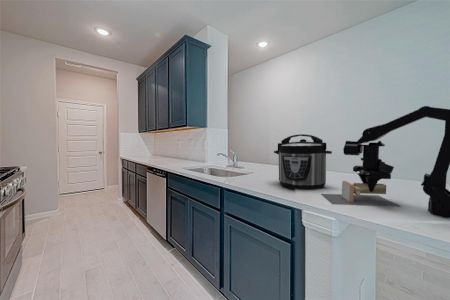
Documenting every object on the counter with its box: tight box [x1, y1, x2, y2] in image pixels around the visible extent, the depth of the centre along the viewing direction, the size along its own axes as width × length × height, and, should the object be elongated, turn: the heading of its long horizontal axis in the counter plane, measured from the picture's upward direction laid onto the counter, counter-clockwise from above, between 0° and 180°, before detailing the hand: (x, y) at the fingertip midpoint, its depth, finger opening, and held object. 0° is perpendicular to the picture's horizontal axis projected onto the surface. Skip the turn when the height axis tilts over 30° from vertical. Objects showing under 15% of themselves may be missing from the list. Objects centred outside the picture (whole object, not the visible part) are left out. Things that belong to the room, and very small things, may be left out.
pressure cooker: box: [273, 134, 333, 190], centre depth 121 cm, size 30×28×32 cm
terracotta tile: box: [341, 180, 355, 203], centre depth 90 cm, size 8×2×8 cm, turn 171°
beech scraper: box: [353, 182, 387, 195], centre depth 89 cm, size 9×13×4 cm
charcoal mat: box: [320, 193, 403, 208], centre depth 91 cm, size 16×27×1 cm, turn 81°
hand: (369, 190), depth 89 cm, fingers closed on beech scraper, 3 cm apart
